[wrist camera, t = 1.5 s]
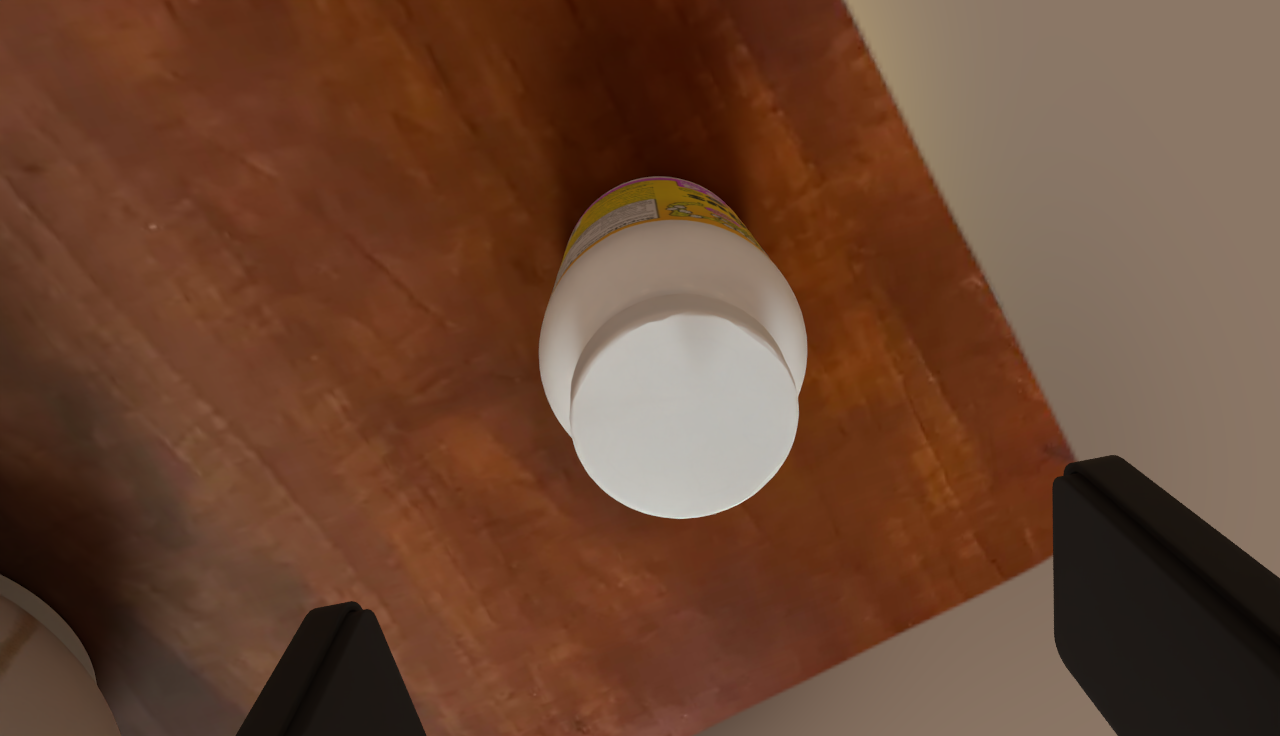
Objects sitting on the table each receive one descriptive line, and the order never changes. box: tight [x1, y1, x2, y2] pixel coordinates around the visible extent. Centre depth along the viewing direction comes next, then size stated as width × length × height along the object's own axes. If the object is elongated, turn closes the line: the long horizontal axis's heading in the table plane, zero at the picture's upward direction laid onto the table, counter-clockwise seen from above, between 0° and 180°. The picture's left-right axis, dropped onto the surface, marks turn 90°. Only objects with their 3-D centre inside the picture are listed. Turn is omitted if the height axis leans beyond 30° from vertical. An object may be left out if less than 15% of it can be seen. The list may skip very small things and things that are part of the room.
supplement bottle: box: [539, 176, 807, 519], centre depth 21 cm, size 7×7×13 cm
